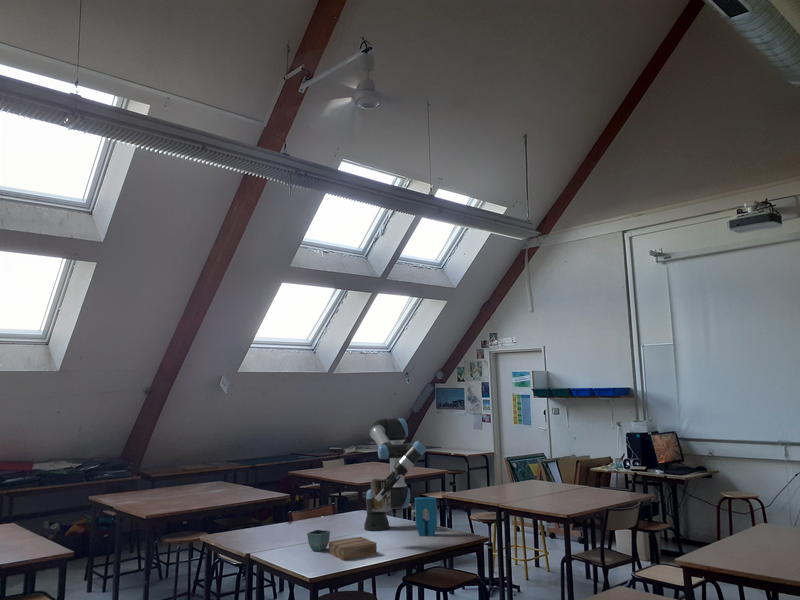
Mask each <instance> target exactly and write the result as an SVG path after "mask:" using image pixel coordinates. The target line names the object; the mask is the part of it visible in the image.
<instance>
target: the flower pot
mask: <svg viewBox="0 0 800 600" xmlns="http://www.w3.org/2000/svg"><path fill="white" fill-rule="evenodd" d="M330 534H331V531H330V530H321V529H316V530H315V529H314V530H312V531H310V532H307V534H306V535H307V542H308V545H309V547H310V549H311V551H315V552H322V551H323V550H326V549H327V547H328V546H329V541H330V536H331V535H330Z"/></svg>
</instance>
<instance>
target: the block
mask: <svg viewBox="0 0 800 600" xmlns="http://www.w3.org/2000/svg"><path fill="white" fill-rule="evenodd" d="M425 508H426V509H427V510H428V511H429V512H428V514H429V516H428V520H427V519H425V520H423V510H424V509H425ZM414 510H415V512H414V514H415V516H414V517H415V526H417V529H416V530H417V533H418V536H419V537H425V536H426V535H427V536H428V537H434V536H435V534H436V530H437V524H438V517H437V515H438V513H437V497H436V496H435V497H434V496H433V497H431V496H430V497H429V496H428V497H426V496H424V497H414Z"/></svg>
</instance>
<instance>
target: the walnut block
mask: <svg viewBox="0 0 800 600" xmlns="http://www.w3.org/2000/svg"><path fill="white" fill-rule="evenodd" d="M377 552H378V551H377V542H375V541H373V540H369V538H365V537H362V536H357V537H351V538H343V539H335V540H329V543H328V554H329V555H332V556H334V557H336V558H337V559H339V560H341V561H347V560H348V561H349V560H355V559H360V558H367V557H373V556H377V555H378V554H377Z"/></svg>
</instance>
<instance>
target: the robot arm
mask: <svg viewBox="0 0 800 600" xmlns="http://www.w3.org/2000/svg"><path fill="white" fill-rule="evenodd" d="M408 429H409V427H408V423H407V422H406V420H405V419H404V418H401V417H395V418H379V419H377V420H375V421H373V422H372V423H371V425H370V427H369V428H368V434H369V436H370V438H371V439H372V440H373V441H374V442H375V443H376V445H377V455H378V458H379V459H380V460H389V469H390V471H389V475H388V476H387V477H386V478H385V479H390V481H389V482H388V484H387V485H386V487H383V488H384V489H385V490H384V489H382V491H381V492H380V493H379V494H378V495H377V496H376V497H375V499H376V500H377V501H378V502H379V501H380V500H381V499H382V498H383V497H384V495H385V494H386V493H387V492H388V491H390V494H391V510H394V509H396V510H397V509H399V510H400V509H401V510H402V509H407V508H408V507H409V505H410V502H411V489H410V488H409V487H408V484H407V483H406V482H405V477H406V475H407V474H408V472H409V471H410V470H411V469H413V467H414V465H415V464H416V463H417V462H418V460H420V458H421V457H422V456H423V455H424V453H425V452H427V448H426V446H424V444H422V442H421V441H418V440H416V441H414V443H412V442H406V443H404V442H405V441H406V438H407V437H408V436H409V430H408ZM365 499H366V517H365V522H364V523H363V527H364V528H363V529H364V530H366V531H371V532H374V531H375V532H376V531H377V532H378V531H379V532H381V531H385V530H386V531H387V530H388V529H390V522H389V519H388V516H387V512H372V502H371V488H370V489H368V490H367V491H366V496H365Z"/></svg>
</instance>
